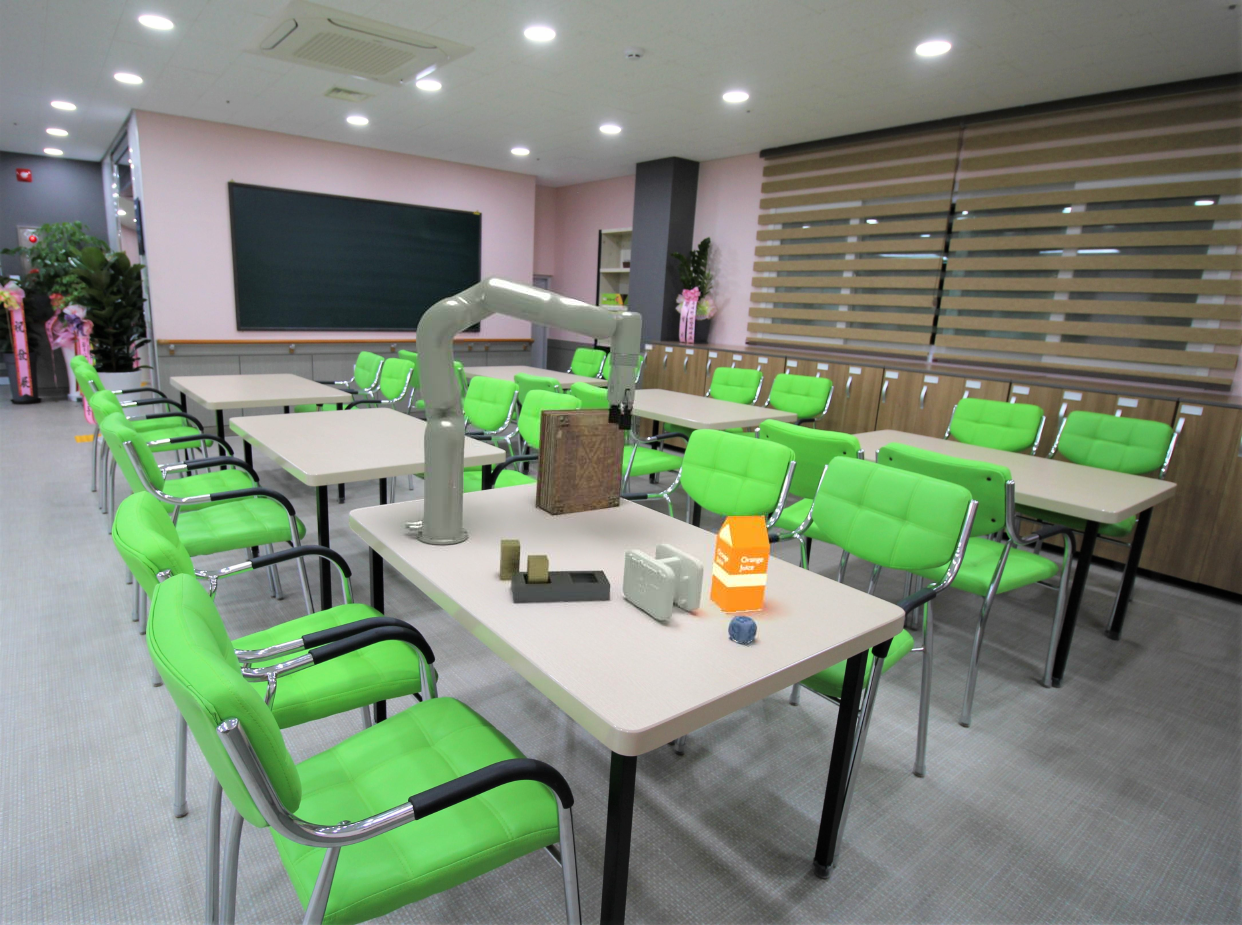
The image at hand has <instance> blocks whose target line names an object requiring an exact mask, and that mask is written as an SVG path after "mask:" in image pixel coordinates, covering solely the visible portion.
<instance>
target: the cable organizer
mask: <svg viewBox="0 0 1242 925" xmlns="http://www.w3.org/2000/svg"><path fill="white" fill-rule="evenodd" d="M624 556H625V558H624V568H623V570H624V571H623V580H622V581H623V583H622V592H623V595H624V597H625V599H627V600H628V601H629V602H630V603H631V602H632V603H631V604H633V605H634V604H635V605H634V606H636V607H637V606H638V607H637V608H640V609H642V610H643V611H644V612H646V613H648V615H649V614H650V615H649V616H651V617H652V616H653V617H652V618H654V619H655V618H656V619H655V620H657V619H658V621H664V620H669V619H670V618H671V617H672V615H673V607H674V603H676V604H677V608H679V606H680V608H681V609H682V608H683V610H684V611H685V610H686V612H692V611H696V610H699V608H700V606H701V598H702V590H703V589H702V588H703V581H704V580H703V579H704V577H703V576H704V570H705V569H704V565H703V563H702V561H701V560H699V559H698V558H697V557H694V556H692V555H690V554H689V553H686V552H684V551H683V550H680V549H679V548H677V547H675V546H673V545H671V544H669V543H660V544H658V545H657V546H656V548H655V558H654V557H652V556H650V555H648V554H646V553H645V552H643V551H641V550H639V549H636V548H635V549H630V550H627V551H626V552H625V555H624Z"/></svg>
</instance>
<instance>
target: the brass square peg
mask: <svg viewBox="0 0 1242 925" xmlns="http://www.w3.org/2000/svg"><path fill="white" fill-rule="evenodd" d="M499 557H500V558H499V559H500V560H499V561H500V562H499V578H500V579H499V580H500V581H511V579H512V572H520V567H521V564H520V563H521V543H520V539H501V540H500V556H499Z"/></svg>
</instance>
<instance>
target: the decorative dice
mask: <svg viewBox="0 0 1242 925" xmlns="http://www.w3.org/2000/svg"><path fill="white" fill-rule="evenodd" d="M757 630H758V625H757V623H756V622H755V620H754V619H753V618H751V617H749V616H748V615H747V616H746V615H735V616H734V617H733V618H731V620H730V621H729V625H728V630H727V632H728V635H729V637H730V638H732V639H734V640H736V641H738V642H741V643H740V644H742V643H747V644H749V643H748V642H749V641H751V640H753V641H754V639H755V637H756V636H757ZM738 642H737V643H738Z"/></svg>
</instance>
